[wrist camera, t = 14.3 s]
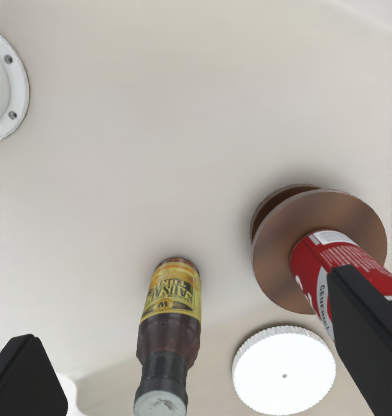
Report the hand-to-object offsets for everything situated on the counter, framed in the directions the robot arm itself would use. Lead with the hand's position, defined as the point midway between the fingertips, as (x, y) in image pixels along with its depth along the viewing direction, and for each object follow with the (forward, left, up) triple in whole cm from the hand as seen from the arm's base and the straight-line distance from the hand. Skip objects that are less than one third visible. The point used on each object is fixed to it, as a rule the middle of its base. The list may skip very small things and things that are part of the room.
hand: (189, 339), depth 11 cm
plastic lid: (+27, -16, -31) cm, 44 cm away
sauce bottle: (+7, -13, -31) cm, 34 cm away
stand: (+16, +1, -30) cm, 34 cm away
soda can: (+16, +1, -23) cm, 28 cm away
